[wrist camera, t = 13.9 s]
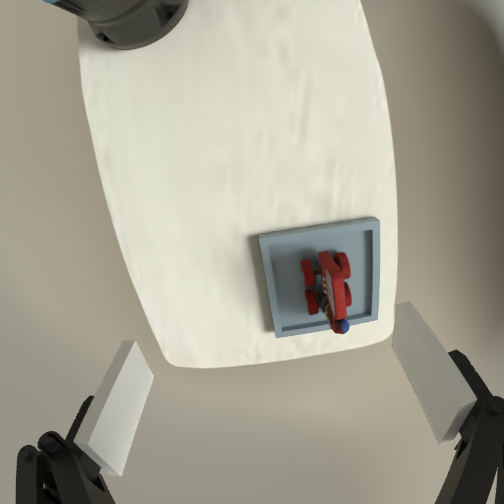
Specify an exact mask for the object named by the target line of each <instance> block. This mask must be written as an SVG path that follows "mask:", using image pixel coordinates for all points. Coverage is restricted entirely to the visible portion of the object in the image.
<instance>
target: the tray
mask: <svg viewBox="0 0 504 504" xmlns="http://www.w3.org/2000/svg"><path fill="white" fill-rule="evenodd" d="M259 244H260V249H261V255H262V261H263V266H264V272H265V278H266V284H267V289H268V295H269V301H270V307H271V312H272V318H273V324H274V330H275V336H276V338H280V337H287V336H294V335H300V334H306V333H312V332H318V331H324V330H329V329H331V327H330V325H329V322H328V320H327V318H326V316H325V314H324V313H323V312H322V310H321V308H318V311H319V312H318V314H315V315H309V313H308V309H307V305H306V300H305V290H308V289H314V290H315V293H317V292H322V293H323V291H322V284H321V278H320V274H319V275H314V276H315V281H316V285H315V286H313V287H309V288H306V287H305V284H304V280H303V276H302V271H301V265H300V262H301V261H302V260H306V259H310V260H311V263H312V267H313V269H315V268H319V267H318V265H319V264H318V258H317V254H318V253H319V252H323V251H328V252H329V254H330V256H331V257H332V259H333V260H334V257H335V254H336V253H340V252H345V253H346V255H347V257H348V260H349V264H350V269H351V275H350V278H348V279H345V280H344V281H345V282H347V283H348V285H349V288H350V291H351V296H352V304H351V306H349V307H346V311H347V317H346V318H345V319H346V320H347V321H348V323H349V326H350V325H355V324H360V323H365V322H370V321H374V320H378V305H379V283H380V220H378V219H377V218H376V217H369V218H362V219H355V220H348V221H342V222H335V223H328V224H322V225H315V226H308V227H302V228H295V229H289V230H282V231H276V232H270V233H263V234H259ZM334 262H335V260H334Z"/></svg>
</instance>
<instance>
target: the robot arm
mask: <svg viewBox="0 0 504 504" xmlns="http://www.w3.org/2000/svg"><path fill="white" fill-rule="evenodd" d="M43 1H44V2H47V3H50V4H53V5H55V6H57V7H60V8H62V9H64V10H67V11H69V12H71V13H73V14H75V15H77V16H80V17H82V18H84V19H86V20H87V21H88V23H89V25H90V27H91V29H92V30H93V32H94V34H95V35H96V37H97V38H98V39H99V40H101V41H102V42H104V43H105V44H108V45H110V46H112V47H114V48H118V49H136V48H140V47H144V46H147V45H149V44H151V43H154V42H156V41H157V40H159V39H161V38H162V37H164V36H165V35H166V34H168V33H169V32H170V31H171V30H172V29H173V28H174V27H175V26H176V25H177V24H178V23H179V21H180V20H181V18H182V17H183V15H184V13H185V11H186V9H187V6H188V1H189V0H43ZM392 348H393V350H394V352H395V354H396V355H397V357H398V359H399V361H400V363H401V365H402V367H403V369H404V371H405V373H406V375H407V377H408V379H409V381H410V383H411V385H412V387H413V389H414V392H415V394H416V395H417V398H418V400H419V402H420V404H421V406H422V408H423V411H424V413H425V415H426V417H427V419H428V422H429V424H430V426H431V428H432V431H433V433H434V435H435V437H436V440H437V442H438V445H441V444H443V443H446V442H448V441H450V440H452V439H454V438H455V437H456V435H457V434H458V432H459V433H460V435H461V437H462V438H461V439H460V441H459V442H458V444H457V445H456V447H455V449H454V450H456V449H457V451H456V454H455V456H454V459H453V462H452V464H451V467H450V470H449V472H448V475H447V477H446V479H445V482H444V484H443V486H442V489H441V491H440V493H439V496H438V498H437V500H436V502H435V504H486V502H487V499H488V496H489V493H490V490H491V487H492V484H493V481H494V478H495V474H496V471H497V467H498V472H497V487H496V496H495V504H504V399H503V398H501V397H499V396H493V395H492V394H491V393H490V391H489V390H488V388H487V386H486V385H485V383H484V382H483V380H482V379H481V377H480V376H479V374H478V373H477V372H476V371H475V369H474V367H473V366H472V365H471V363H470V361H469V360H468V359H467V357H466V356H465V355H464V354H462V353H461V352H459V351H458V350H454V351H451V352H448V353H447V351H446V350H445V348H444V347H443V346H442V344H441V343H440V341H439V340H438V338H437V337H436V335H435V334H434V333H433V331H432V330H431V328H430V327H429V326H428V325H427V323H426V322H425V320H424V319H423V318H422V316H421V315H420V314H419V312H418V311H417V309H416V308H415V307H414V306H413V304H412V303H411V302H410V301H408V302H404V303H400V304H397V305H396V315H395V324H394V332H393V340H392ZM153 378H154V376H153V374H152V373H151V371H150V369H149V367H148V365H147V363H146V361H145V359H144V357H143V355H142V353H141V351H140V349H139V347H138V345H137V343H136V341H135V340H132V341H131V340H130V341H123V342H122V344H121V346H120V348H119V350H118V352H117V353H116V355H115V357H114V359H113V361H112V363H111V365H110V366H109V368H108V371H107V372H106V374H105V376H104V378H103V380H102V382H101V384H100V386H99V388H98V390H97V392H96V394H95V396H89V397H88V398H87V399H86V400H85V401H84V402H83V404H82V406H81V408H80V410H79V412H78V414H77V416H76V419H75V420H74V422H73V424H72V426H71V428H70V430H69V433H68V435H67V437H66V439H65V440H64V439H63V438H62V437H61V436H60V435H59V434H58V433H57V432H54V431H49V432H46V433H45V434H43V435H42V436H41V437H40V439H39V441H38V448H39V449H40V450H41V451H38V450H37V449H36V448H35V447H34V446H32V445H26V446H24V447H23V448H21V449H20V451H19V453H18V456H17V470H16V504H115V502H114V500H113V498H112V496H111V494H110V492H109V490H108V488H107V486H106V484H105V481H104V479H103V477H102V475H101V474H100V473H99V472H100V469H101V468H102V469H103V470H104V471H105V472H106V473H107V474H112V475H116V476H122V473H123V469H124V466H125V463H126V460H127V457H128V453H129V450H130V447H131V444H132V440H133V438H134V434H135V431H136V428H137V425H138V422H139V419H140V416H141V413H142V410H143V407H144V404H145V401H146V398H147V396H148V393H149V390H150V387H151V384H152V381H153ZM44 484H45V488H44V487H43V485H44Z"/></svg>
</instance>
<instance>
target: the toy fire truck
mask: <svg viewBox="0 0 504 504" xmlns="http://www.w3.org/2000/svg"><path fill="white" fill-rule="evenodd" d="M317 258H318V264H319V265H318V267H319V268H315V269H313V267H312V263H311V260H310V259H306V260H302V261H301V262H300V265H301V271H302V276H303V280H304V284H305V287H306V288H309V287H313V286H315V285H316V281H315V276H314V275H319V274H320V278H321V284H322V291H323V293H322V292H317V293H315V290H314V289H308V290H305V300H306V305H307V309H308V313H309V315H315V314H318V312H319V311H318V308H321V310H322V312H323V313H324V314H325V316H326V318H327V320H328V322H329V325H330V327H331V329H332V330H333V331H334V332H335V333H336V334H337V333H339V334H345V333H346V332H347V331H348V330H349V323H348V321H347V320H346V319H345V318H346V317H347V311H346V307H349V306H351V304H352V296H351V291H350V288H349V285H348V283H347V282H345V281H344V280H345V279H348V278H350V275H351V269H350V264H349V260H348V257H347V255H346V253H345V252H340V253H336V254H335V257H334V260H335V262H334V260H333V259H332V257H331V256H330V254H329V252H328V251H323V252H319V253H318V254H317Z"/></svg>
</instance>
